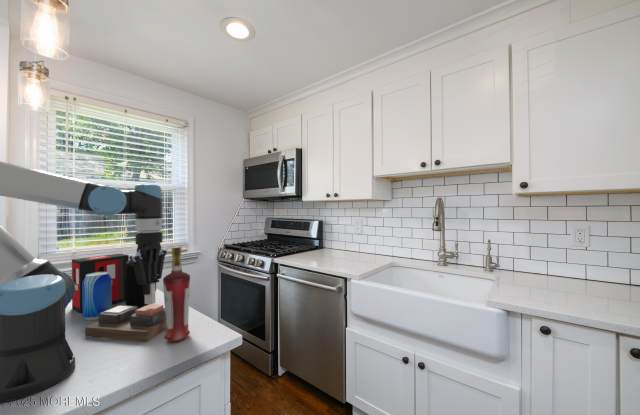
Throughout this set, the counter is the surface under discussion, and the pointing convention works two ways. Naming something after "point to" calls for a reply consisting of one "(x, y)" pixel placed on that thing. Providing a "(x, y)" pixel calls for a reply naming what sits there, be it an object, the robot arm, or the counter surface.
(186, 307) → the liquor
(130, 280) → the black tapered cylinder
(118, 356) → the counter surface
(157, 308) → the brick-red key
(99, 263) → the cleaning product box
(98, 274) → the blue striped container
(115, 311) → the off-white key
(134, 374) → the counter surface
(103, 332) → the key panel
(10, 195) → the robot arm
